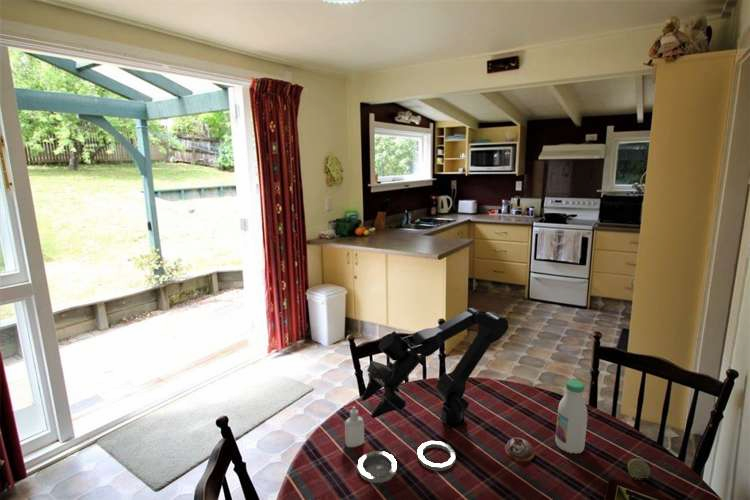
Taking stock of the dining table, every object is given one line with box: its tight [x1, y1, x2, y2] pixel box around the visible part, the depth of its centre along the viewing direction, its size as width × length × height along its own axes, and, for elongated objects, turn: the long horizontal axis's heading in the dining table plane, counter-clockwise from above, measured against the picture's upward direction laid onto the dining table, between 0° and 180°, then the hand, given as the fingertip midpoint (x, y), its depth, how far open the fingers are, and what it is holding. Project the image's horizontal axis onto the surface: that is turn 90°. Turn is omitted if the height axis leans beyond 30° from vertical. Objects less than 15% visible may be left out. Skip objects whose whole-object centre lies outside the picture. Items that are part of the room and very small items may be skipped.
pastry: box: [504, 437, 535, 463], centre depth 114 cm, size 8×8×5 cm
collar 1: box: [357, 450, 398, 484], centre depth 109 cm, size 10×10×1 cm
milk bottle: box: [554, 379, 588, 455], centre depth 115 cm, size 8×8×20 cm
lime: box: [627, 457, 651, 480], centre depth 105 cm, size 4×5×5 cm
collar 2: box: [417, 440, 457, 472], centre depth 113 cm, size 10×10×1 cm
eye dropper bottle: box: [344, 406, 365, 448], centre depth 118 cm, size 4×6×12 cm
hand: (367, 408), depth 118 cm, fingers open, 9 cm apart
